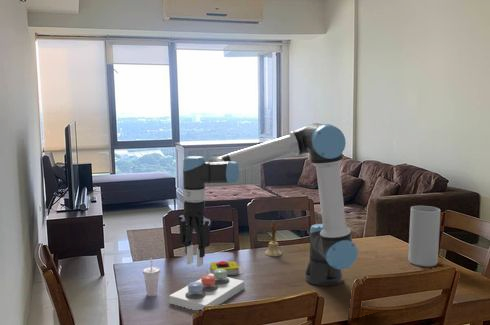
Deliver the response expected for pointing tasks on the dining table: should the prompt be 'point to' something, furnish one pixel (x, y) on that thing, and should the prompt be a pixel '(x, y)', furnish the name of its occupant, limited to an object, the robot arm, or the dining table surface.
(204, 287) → the button panel
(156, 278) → the smoothie
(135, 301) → the dining table surface
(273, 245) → the hand bell
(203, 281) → the red button
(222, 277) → the sage-green button
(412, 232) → the cylinder vase
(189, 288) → the slate-blue button
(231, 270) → the emergency button
